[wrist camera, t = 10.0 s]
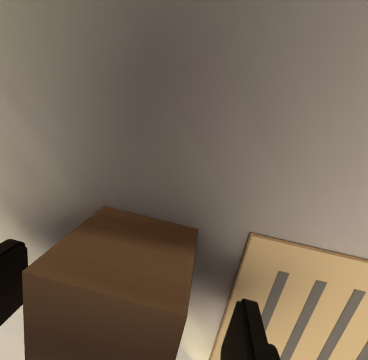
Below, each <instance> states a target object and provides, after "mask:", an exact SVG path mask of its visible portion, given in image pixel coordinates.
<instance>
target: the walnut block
mask: <svg viewBox="0 0 368 360" xmlns="http://www.w3.org/2000/svg"><path fill="white" fill-rule="evenodd" d="M197 232H198V229H194V228H190V227H186V226H182V225H178V224H174V223H170V222H166V221H162V220H158V219H154V218H150V217H146V216H142V215H138V214H134V213H130V212H126V211H122V210H117V209H113V208H109V207H105V206H104V207H102V208H101V209H100V210H98V211H97V212H96V213H95V214H93V215H92V216H91V217H90V218H88V219H87V220H86V221H85V222H83V223H82V224H81V225H80V226H78V227H77V228H76V229H75V230H73V231H72V232H71V233H70V234H68V235H67V236H66V237H65V238H63V239H62V240H61V241H60V242H58V243H57V244H56V245H55V246H53V247H52V248H51V249H50V250H48V251H47V252H46V253H45V254H43V255H42V256H41V257H39V258H38V259H37V260H36V261H34V262H33V263H32V264H31V265H29V266H28V267H27V268H26V269H24V270H23V271H22V285H23V315H24V344H25V360H175V359H176V356H177V352H178V348H179V345H180V341H181V337H182V334H183V330H184V326H185V323H186V319H187V313H188V305H189V297H190V289H191V281H192V273H193V265H194V257H195V248H196V240H197Z"/></svg>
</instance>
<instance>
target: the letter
mask: <svg viewBox="0 0 368 360" xmlns="http://www.w3.org/2000/svg"><path fill="white" fill-rule="evenodd" d="M243 298H244V299H248V300H252V301H256V302H257V303H258V305H259V309H260V313H261V317H262V321H263V325H264V329H265V333H266V337H267V341H268V343H269V344H273V345H275V347H276V348H277V350H278V353H279V356H280V360H368V260H366V259H361V258H357V257H353V256H348V255H344V254H340V253H335V252H331V251H327V250H323V249H318V248H314V247H310V246H305V245H301V244H297V243H292V242H288V241H284V240H280V239H275V238H271V237H267V236H262V235H258V234H254V233H250V236H249V239H248V242H247V246H246V249H245V252H244V255H243V258H242V261H241V264H240V267H239V270H238V273H237V276H236V280H235V283H234V286H233V289H232V292H231V295H230V298H229V301H228V304H227V307H226V311H225V314H224V317H223V320H222V323H221V326H220V329H219V332H218V335H217V338H216V342H215V345H214V348H213V351H212V354H211V357H210V360H220V354H221V347H222V343H223V340H224V337H225V335H226V332H227V329H228V326H229V323H230V320H231V317H232V314H233V311H234V308H235V305H236V302H237V301H240V302H241V300H242V299H243Z"/></svg>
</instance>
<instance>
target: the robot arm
mask: <svg viewBox="0 0 368 360" xmlns="http://www.w3.org/2000/svg"><path fill="white" fill-rule="evenodd" d="M27 267H28V256H27V247H25V244H24V243H23V242H20V241H16V240H12V239H8V240H6V241H4V242H2V243H0V326H1V325H2V324H3V323H4V322H5V321H6V320H7V319H8V318H9V317H10V316H11V315H12V314H13V313H14V312H15V311H16V310H17V309H18V308H19V307H20V306H22V305H23V285H22V271H23V270H24V269H26V268H27ZM220 360H280V356H279V353H278V350H277V348H276V347H275V345H273V344H269V343H268V341H267V337H266V333H265V329H264V325H263V321H262V317H261V313H260V309H259V305H258V303H257V302H256V301H252V300H248V299H244V298H243V299H242V300H241V302H240V301H237V302H236V305H235V308H234V311H233V314H232V317H231V320H230V323H229V326H228V329H227V332H226V335H225V337H224V340H223V343H222V347H221V354H220Z"/></svg>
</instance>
